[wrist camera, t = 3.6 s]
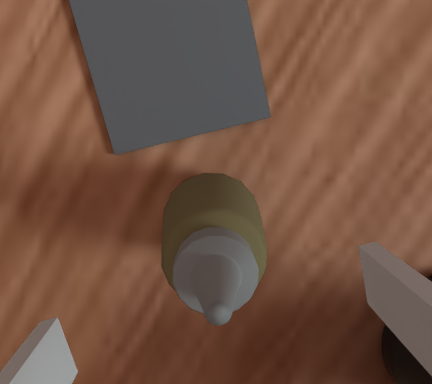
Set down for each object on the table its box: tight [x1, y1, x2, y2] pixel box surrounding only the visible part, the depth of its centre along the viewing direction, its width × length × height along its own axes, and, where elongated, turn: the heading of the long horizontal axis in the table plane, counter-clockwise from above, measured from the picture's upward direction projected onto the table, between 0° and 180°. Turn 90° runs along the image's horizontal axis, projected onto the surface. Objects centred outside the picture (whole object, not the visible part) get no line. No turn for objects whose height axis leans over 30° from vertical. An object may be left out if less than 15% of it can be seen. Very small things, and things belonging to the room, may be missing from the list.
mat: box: [69, 0, 271, 155], centre depth 30 cm, size 14×14×1 cm
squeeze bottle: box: [162, 173, 267, 325], centre depth 24 cm, size 8×8×18 cm
